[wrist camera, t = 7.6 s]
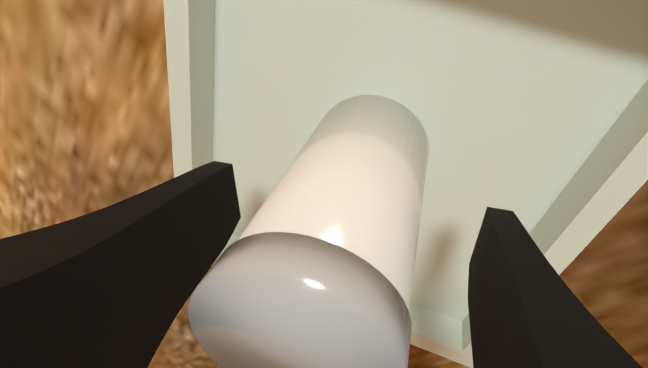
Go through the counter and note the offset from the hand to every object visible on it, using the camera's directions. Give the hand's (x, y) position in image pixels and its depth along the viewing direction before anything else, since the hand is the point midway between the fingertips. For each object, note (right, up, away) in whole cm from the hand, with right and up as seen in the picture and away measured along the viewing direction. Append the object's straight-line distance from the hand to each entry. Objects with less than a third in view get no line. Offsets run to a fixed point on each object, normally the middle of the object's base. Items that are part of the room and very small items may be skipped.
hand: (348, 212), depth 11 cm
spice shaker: (+1, +2, +3) cm, 3 cm away
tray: (+1, +2, +3) cm, 4 cm away
